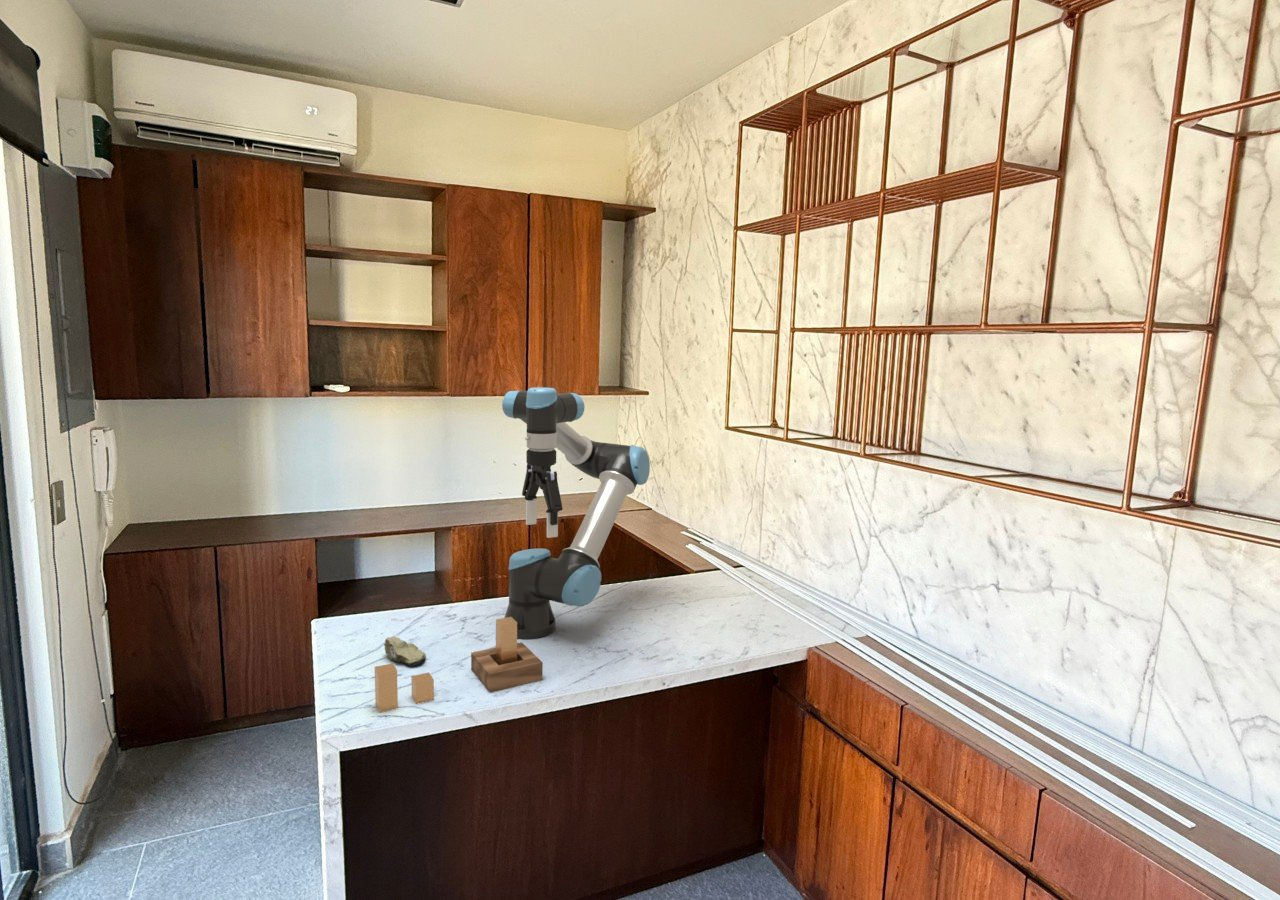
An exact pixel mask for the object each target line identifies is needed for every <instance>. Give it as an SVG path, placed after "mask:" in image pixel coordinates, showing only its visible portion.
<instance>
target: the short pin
mask: <svg viewBox="0 0 1280 900" xmlns="http://www.w3.org/2000/svg"><path fill="white" fill-rule="evenodd" d="M434 683H435V681H434V678H433V676H432V675H431V673H430V672H424V673H420V674H416V675H412V676H411V697H412V699H413V701H414V702H415V704H416V705H418V703H419V704H422V702H423V703H426V701H427V702H431V701H434V700H435V686H434V685H435V684H434ZM430 700H431V701H430Z"/></svg>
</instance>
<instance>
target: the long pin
mask: <svg viewBox="0 0 1280 900" xmlns="http://www.w3.org/2000/svg"><path fill="white" fill-rule="evenodd" d="M517 643H518V638H517V622H516V621H515V620H514V619H513V618H512V617H507V618H504V617H503V618H497V619H495V648H496V663H497V664H498V665H503V664H507V663H512V662H516V661H517Z"/></svg>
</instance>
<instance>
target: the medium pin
mask: <svg viewBox="0 0 1280 900" xmlns="http://www.w3.org/2000/svg"><path fill="white" fill-rule="evenodd" d="M374 693H375V694H374V695H375V697H374V698H375V699H374V700H375V706H376V708H377V710H378V711H377V712H378V713H379V712H380V713H384V712H388V711H392V709H393V710H397V709H398V708H399V701H398V699H399V697H398V696H399V694H398V693H399V692H398V669H397V668H396V666H395V664H394V663H387V664H383V665H378V666H374ZM396 708H397V709H396ZM387 710H388V711H387ZM383 711H384V712H383Z"/></svg>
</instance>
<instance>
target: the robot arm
mask: <svg viewBox="0 0 1280 900" xmlns="http://www.w3.org/2000/svg"><path fill="white" fill-rule="evenodd" d="M501 405H502V406H501V408H502V411H503V414H504V415H505V416H506V417H507V418H511V419H515V420H516V419H518V420H521V421H522V422H523V423H524V424H526V436H525V437H524V440H525V441H526V448H527V450H526V452H525V454H526V458H525V459H526V461H525V462H526V472H525V478H524V482H523V486H522V493H521V496H522V497H524V500H525V525H526V526H530V525H537V521H538V520H537V514H538V513H537V511H538V510H537V509H538V508H537V506H538V505H537V504H538V503H537V499H538V497H537V494H538V492H539V490H542V493H543V496H544V499H545V504H546V507H547V509H546V511H545V513H546V538H547V539H548V538H549V539H550V538H558V536H559V512H560V511H561V512H562V511H563V510H564V509H563V504H562V503H563V502H562V498H561V493H560V488H559V483H558V473H557V471H556V470H555V471H552V469H551V468H552V466H554V465H556V464H557V450H558V451H560V452H561V453H562V454H564V457H565V459H566V462H568V463H569V464H571V465H572V466H573V467H574V468H576V469H578V470H579V471H580V472H583V474H585V475H587V476H590V477H591V478H594V479H597V480H599V481H600V484H599V487H598V489H597V491H596V492H595V495H594V497H593V499H592V501H591V503H590V505H589V506H588V507H589V508H588V510H587V511H586V514H585V515H584V518H583V519H582V522H581V524H580V526H579V528H578V530H577V532H576V534H575V536H574V538H573V540H572V543H571V544H570V546H569V547H566V548H563V549H562V551H561V553H560V555H559V557H558V558H554V557H551V555H552V554H551V551H550V550H549V549H548V548H529V549H523V550H519V551H516V552H514V553H513V554H511V556H510V557H509V562H508V568H507V569H508V604H507V605H508V606H507V608H506V611H505V615H504V617H503V618H507V617H512V618H513V619H514V620H515V621H516V622H517V639H521V640H522V639H523V640H525V639H527V640H530V639H531V640H533V639H538V638H539V639H540V638H544V637H546V636H548V635H551V634H552V633H554V632H555V631H556V618H555V615H554V610H553V609H552V605H551V602H555V603H559V604H563V605H566V606H570V607H571V606H575V607H584V606H586V605H588V604H590V603H592V601H593V600H594V599H595V598H596V596H598V593H599V591H600V588H601V586H602V585H601V582H602V571H601V570H600V567H601V565H600V562H599V561H598V559H599V557H600V555H601V552H602V550H603V548H604V546H605V544H606V541H607V539H608V537H609V535H610V533H611V530H612V528H613V526H614V524H615V522H616V520H617V517H618V515H619V513H620V510H621V508H622V507H623V504H624V502H625V500H626V498H627V496H628V495H631V494H633V493H634V492H635V490H636V489H637V488H636V487H637V486H638V485H639V486H642V485H643V486H644V485H645V484H646V483H647V481H648V480H649V476H650V472H651V471H650V470H651V465H650V462H651V461H650V457H649V454H648V452H647V450H646V449H645V448H644V447H643V446H642V447H641V446H638V445H637V446H636V445H633V444H630V445H629V444H628V445H626V444H620V443H619V444H617V443H609V442H602V441H601V442H600V441H599V442H598V441H596V440H595V441H594V440H591V439H590V438H589V437H587V436H585V435H580V434H579V433H578V432H577V431H576V430H575V429H574V428H572V427H571V426H570V425H569V424H568V423H572V422H573V421H577V420H579V419H581V418H582V416H583V415H584V412H585V402H584V399H583V398H582V397H581V396H580V395H579V394H578V393H574V392H566V393H565V392H564V393H560V392H557V390H556V388H553V387H530V388H528V389H527V390H510V391H507V392H506V393H505V395H503V400H502V403H501ZM567 422H568V423H567ZM556 449H557V450H556Z"/></svg>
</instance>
